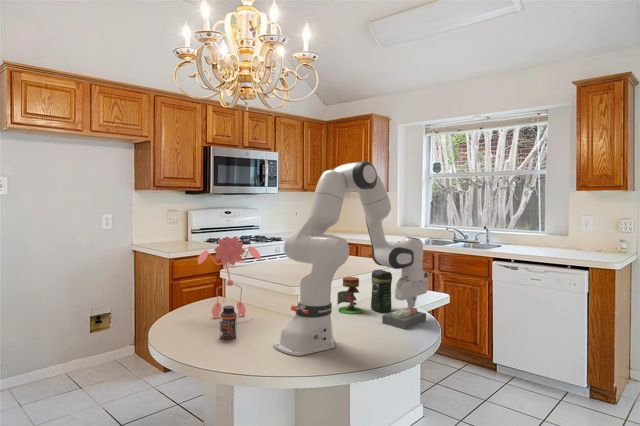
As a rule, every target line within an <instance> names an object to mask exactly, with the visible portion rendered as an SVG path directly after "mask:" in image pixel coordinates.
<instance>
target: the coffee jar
mask: <svg viewBox="0 0 640 426" xmlns="http://www.w3.org/2000/svg"><path fill="white" fill-rule="evenodd" d="M392 283H393V274H392V272H391V271H387V270H383V269H373V271H372V272H371V297H370V298H371V300H370V309H371V310H373V311H374V312H378V313H390V312H392Z"/></svg>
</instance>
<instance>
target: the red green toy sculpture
mask: <svg viewBox="0 0 640 426" xmlns="http://www.w3.org/2000/svg"><path fill="white" fill-rule="evenodd" d="M359 286H360V278H359V277H355V276H346V277H345V276H344V277H343V278H342V287H344V288H348V289H347V290H343V291H338V292H337V299H336V301H337V303H336V304H337V307H339V305H340V304H341V303H347V304H346V306H342V307H339V308H338V312H339V313H342V314H347V315H355V314H356V315H357V314H361V313H363V309H362V308H360V307H358V306H357V305H358V304H357V302H356V301H357V297H356V296H355V295H354V294H355V293H356V294H359V293H360V291H359V289H358V287H359Z"/></svg>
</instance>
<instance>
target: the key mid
mask: <svg viewBox="0 0 640 426" xmlns="http://www.w3.org/2000/svg"><path fill="white" fill-rule="evenodd" d="M401 309H402V310H400V309H398V310H399V312H402V313H404V316H410V315H411V311H410V310H406V308H405V309H403V308H401Z"/></svg>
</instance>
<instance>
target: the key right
mask: <svg viewBox="0 0 640 426" xmlns="http://www.w3.org/2000/svg"><path fill="white" fill-rule="evenodd" d="M405 309H406V310H410V311H411V314H416V313H417V311H418V308H417V307H411V308H409V307H408V306H407V307H405Z"/></svg>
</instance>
